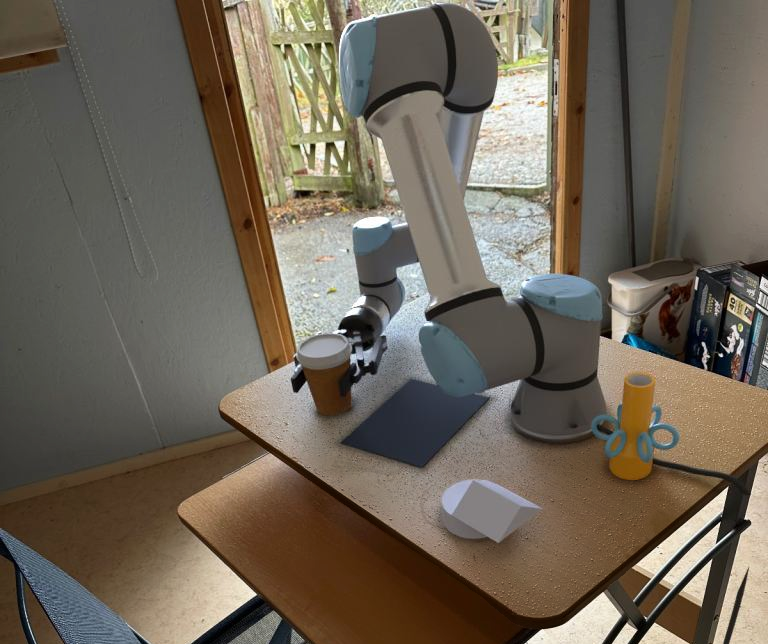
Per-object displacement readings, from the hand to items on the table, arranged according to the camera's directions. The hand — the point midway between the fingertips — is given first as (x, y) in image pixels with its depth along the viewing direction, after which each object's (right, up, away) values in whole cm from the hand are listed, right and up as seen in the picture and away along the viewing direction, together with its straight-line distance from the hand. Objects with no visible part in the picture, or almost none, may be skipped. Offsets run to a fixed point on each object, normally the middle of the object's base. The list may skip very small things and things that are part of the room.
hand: (317, 387), depth 130 cm
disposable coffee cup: (+2, -2, +8) cm, 8 cm away
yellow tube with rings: (+47, -15, -15) cm, 52 cm away
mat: (+17, -5, +1) cm, 17 cm away
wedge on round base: (+25, -23, -21) cm, 40 cm away
